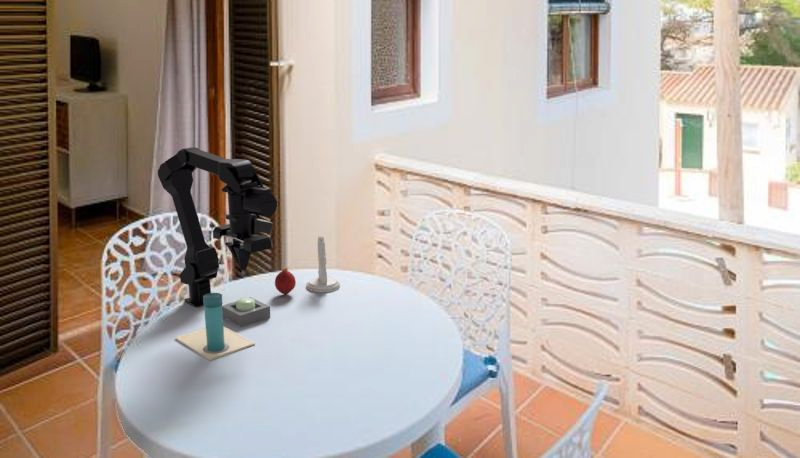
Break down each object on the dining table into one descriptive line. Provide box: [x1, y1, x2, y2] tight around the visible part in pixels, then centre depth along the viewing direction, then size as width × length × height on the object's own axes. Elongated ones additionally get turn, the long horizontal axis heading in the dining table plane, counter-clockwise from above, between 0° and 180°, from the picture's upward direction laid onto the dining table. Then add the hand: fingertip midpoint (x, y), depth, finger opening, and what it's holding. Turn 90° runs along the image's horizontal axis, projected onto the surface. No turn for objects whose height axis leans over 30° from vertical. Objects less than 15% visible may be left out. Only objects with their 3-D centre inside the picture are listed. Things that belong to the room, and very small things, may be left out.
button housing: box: [222, 297, 271, 327], centre depth 184 cm, size 9×9×3 cm
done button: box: [235, 297, 256, 312], centre depth 184 cm, size 5×5×4 cm
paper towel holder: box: [305, 235, 341, 293], centre depth 205 cm, size 10×10×15 cm
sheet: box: [174, 326, 256, 361], centre depth 169 cm, size 16×12×1 cm
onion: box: [274, 267, 297, 296], centre depth 199 cm, size 6×6×8 cm
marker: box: [203, 292, 225, 352], centre depth 163 cm, size 4×4×13 cm
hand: (243, 269), depth 181 cm, fingers closed
